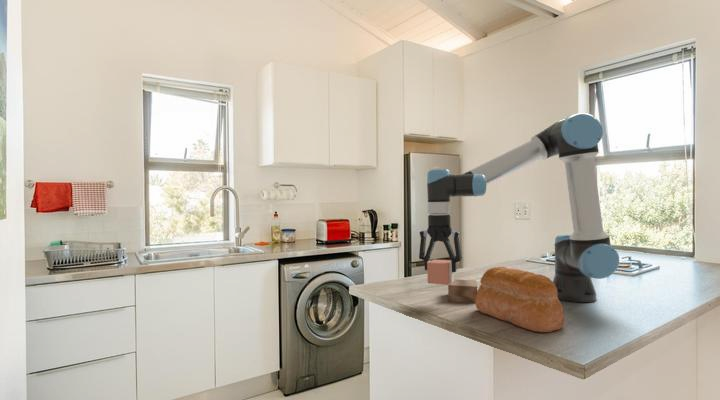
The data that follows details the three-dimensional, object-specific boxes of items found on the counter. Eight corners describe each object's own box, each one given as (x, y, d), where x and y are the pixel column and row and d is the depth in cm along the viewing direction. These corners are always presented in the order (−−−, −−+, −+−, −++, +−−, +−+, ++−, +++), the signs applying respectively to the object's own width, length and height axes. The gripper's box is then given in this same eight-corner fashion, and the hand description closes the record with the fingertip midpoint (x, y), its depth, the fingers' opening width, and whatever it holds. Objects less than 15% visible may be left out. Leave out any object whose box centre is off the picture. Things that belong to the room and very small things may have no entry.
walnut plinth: (476, 296, 148) (476, 280, 148) (477, 303, 138) (477, 286, 138) (449, 294, 151) (449, 279, 150) (448, 301, 141) (448, 285, 141)
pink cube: (453, 280, 137) (452, 260, 136) (448, 284, 130) (447, 264, 130) (433, 278, 140) (433, 259, 140) (427, 283, 134) (427, 262, 133)
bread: (538, 336, 106) (538, 280, 105) (470, 311, 129) (470, 265, 129) (570, 328, 112) (570, 275, 112) (500, 305, 135) (500, 261, 135)
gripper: (470, 213, 133) (472, 280, 134) (415, 213, 143) (416, 276, 143) (465, 214, 127) (467, 285, 127) (407, 214, 136) (409, 280, 136)
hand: (440, 280), depth 135 cm, fingers closed on pink cube, 7 cm apart
